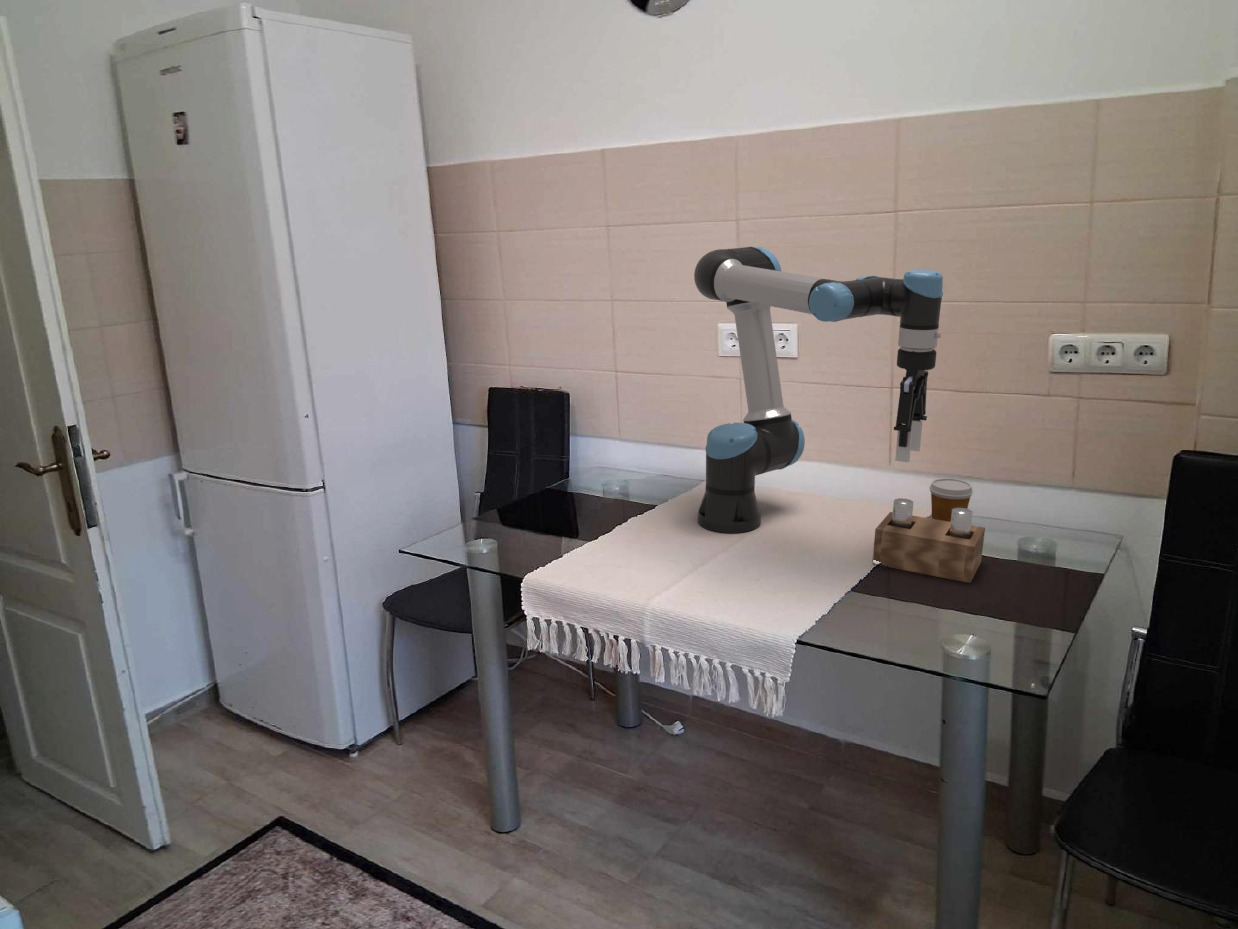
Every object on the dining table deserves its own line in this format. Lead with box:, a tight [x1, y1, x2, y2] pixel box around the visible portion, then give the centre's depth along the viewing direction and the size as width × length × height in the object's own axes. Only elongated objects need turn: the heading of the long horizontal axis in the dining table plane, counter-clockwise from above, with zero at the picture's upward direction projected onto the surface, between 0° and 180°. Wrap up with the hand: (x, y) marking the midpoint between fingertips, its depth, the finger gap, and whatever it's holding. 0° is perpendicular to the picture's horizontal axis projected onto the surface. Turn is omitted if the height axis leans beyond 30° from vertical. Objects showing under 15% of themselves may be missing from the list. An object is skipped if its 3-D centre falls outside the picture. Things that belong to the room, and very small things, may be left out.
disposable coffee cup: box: [928, 477, 974, 522], centre depth 210 cm, size 10×10×12 cm
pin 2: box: [949, 508, 973, 539], centre depth 189 cm, size 4×4×7 cm
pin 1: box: [892, 498, 914, 529], centre depth 195 cm, size 4×4×7 cm
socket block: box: [872, 511, 986, 584], centre depth 194 cm, size 20×12×8 cm, turn 59°
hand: (907, 455), depth 191 cm, fingers open, 8 cm apart
